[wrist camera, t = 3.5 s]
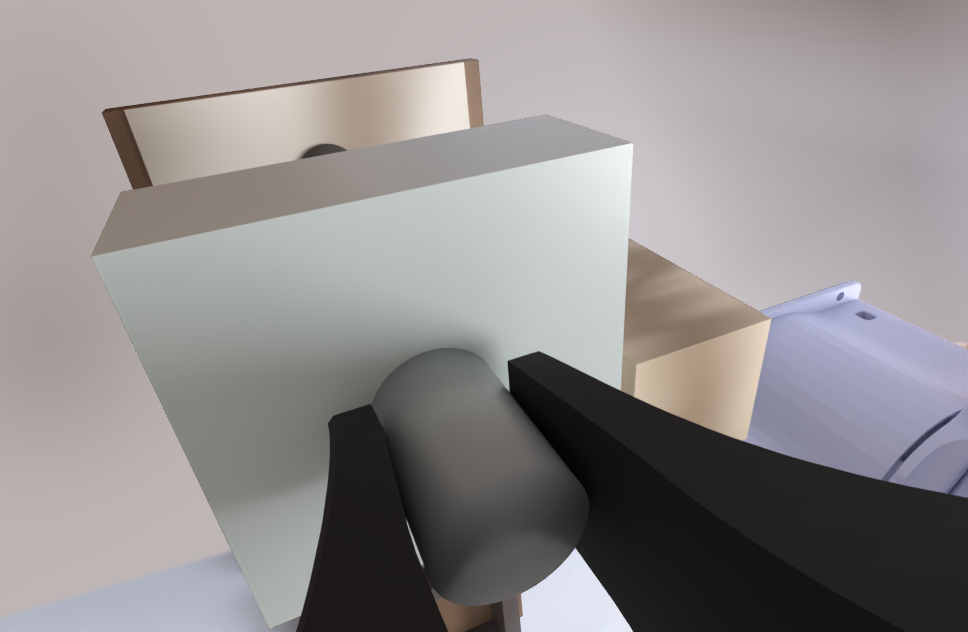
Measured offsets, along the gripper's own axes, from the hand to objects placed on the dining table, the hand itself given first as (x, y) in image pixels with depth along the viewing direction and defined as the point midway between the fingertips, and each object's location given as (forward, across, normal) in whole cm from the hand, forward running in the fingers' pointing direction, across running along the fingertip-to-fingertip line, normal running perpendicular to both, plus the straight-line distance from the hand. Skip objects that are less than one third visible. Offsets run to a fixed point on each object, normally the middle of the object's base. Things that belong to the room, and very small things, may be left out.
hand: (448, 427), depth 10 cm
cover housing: (+4, 0, 0) cm, 4 cm away
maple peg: (+10, -8, +4) cm, 14 cm away
